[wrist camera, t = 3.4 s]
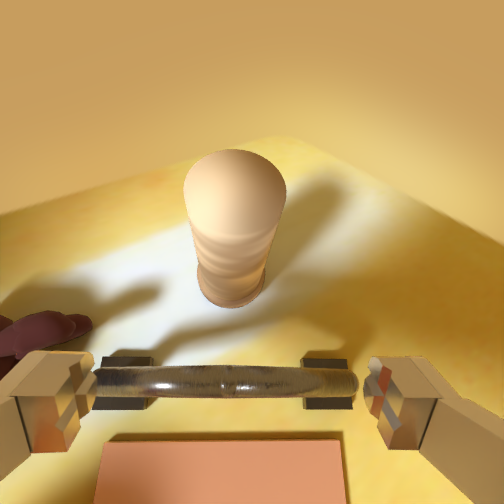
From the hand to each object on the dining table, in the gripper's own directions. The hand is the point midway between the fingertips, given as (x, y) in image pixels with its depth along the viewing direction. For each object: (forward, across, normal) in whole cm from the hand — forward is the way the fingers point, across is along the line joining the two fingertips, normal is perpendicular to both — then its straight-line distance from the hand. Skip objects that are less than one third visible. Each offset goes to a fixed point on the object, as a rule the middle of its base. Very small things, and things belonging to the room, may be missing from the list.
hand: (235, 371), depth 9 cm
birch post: (+14, 0, +3) cm, 14 cm away
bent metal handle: (+8, 0, +8) cm, 12 cm away
